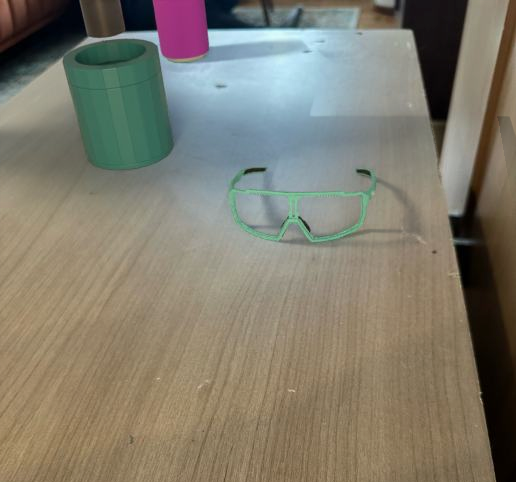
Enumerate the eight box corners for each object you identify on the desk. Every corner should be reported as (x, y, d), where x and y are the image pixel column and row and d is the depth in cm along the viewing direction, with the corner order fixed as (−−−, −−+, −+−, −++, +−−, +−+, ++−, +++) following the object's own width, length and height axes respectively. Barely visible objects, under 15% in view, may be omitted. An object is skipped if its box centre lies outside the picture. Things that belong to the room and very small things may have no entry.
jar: (74, 169, 74) (47, 70, 66) (104, 132, 81) (83, 39, 74) (159, 170, 72) (141, 68, 65) (183, 132, 79) (168, 37, 72)
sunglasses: (217, 243, 59) (212, 192, 56) (248, 182, 71) (245, 137, 68) (372, 249, 57) (375, 195, 54) (376, 185, 69) (379, 138, 66)
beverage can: (214, 59, 99) (204, -29, 91) (165, 67, 98) (151, -22, 90) (205, 45, 105) (196, -39, 97) (159, 52, 104) (145, -33, 96)
